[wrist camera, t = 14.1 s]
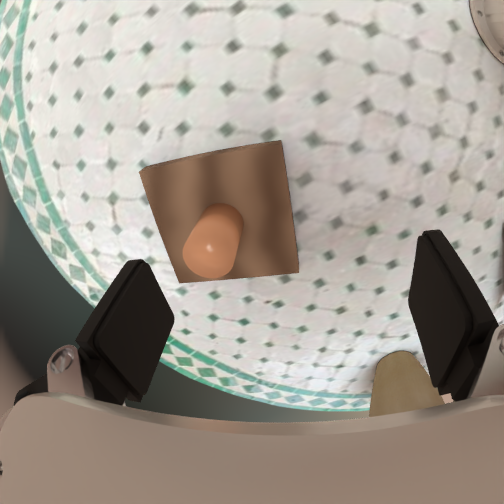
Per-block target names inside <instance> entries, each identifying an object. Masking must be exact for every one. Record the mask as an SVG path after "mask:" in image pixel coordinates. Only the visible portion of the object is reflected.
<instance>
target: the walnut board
mask: <svg viewBox="0 0 504 504" xmlns="http://www.w3.org/2000/svg"><path fill="white" fill-rule="evenodd" d="M139 174H140V177H141V180H142V183H143V186H144V189H145V192H146V195H147V198H148V201H149V204H150V207H151V210H152V212H153V215H154V218H155V221H156V224H157V226H158V229H159V232H160V235H161V237H162V240H163V243H164V245H165V248H166V251H167V253H168V256H169V258H170V261H171V263H172V266H173V268H174V271H175V273H176V276H177V278H178V281H179V283H189V282H202V281H215V280H227V279H238V278H249V277H260V276H271V275H281V274H292V273H299V263H298V255H297V247H296V239H295V231H294V223H293V216H292V208H291V201H290V194H289V187H288V180H287V174H286V167H285V161H284V155H283V148H282V142H281V140H279V141H272V142H265V143H258V144H252V145H246V146H240V147H234V148H228V149H223V150H217V151H212V152H207V153H202V154H197V155H193V156H188V157H184V158H179V159H175V160H170V161H166V162H162V163H158V164H154V165H150V166H146V167H145V168H143V169H142V170H141V171H140V172H139ZM215 203H225V204H228V205H231V206H233V207H234V208H236V209H237V210H238V211H239V213H240V214H241V216H242V218H243V224H244V225H243V230H242V234H241V238H240V242H239V245H238V249H237V253H236V257H235V261H234V264H233V267H232V269H231V270H230V271H229V273H227V274H226V275H224V276H222V277H219V278H205V277H202V276H199V275H197V274H195V273H194V272H193V271H191V270H190V269H189V268H188V266H187V265H186V263H185V261H184V259H183V247H184V245H185V243H186V241H187V239H188V237H189V236H190V234H191V232H192V230H193V228H194V227H195V225H196V223H197V221H198V220H199V218H200V216H201V214H202V213H203V211H204V210H205V209H206V208H207V207H208V206H210V205H212V204H215Z"/></svg>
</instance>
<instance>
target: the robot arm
mask: <svg viewBox="0 0 504 504" xmlns="http://www.w3.org/2000/svg"><path fill="white" fill-rule="evenodd" d="M470 8H471V13H472V17H473V20H474V23H475V25H476V28H477V30H478V32H479V34H480V36H481V38H482V39H483V41H484V43H485V44H486V45H487V47H488V48H489V50H490V51H491V52H492V53H493V54H494V56H495V57H496V58H498V59H499V60H500V61H501V62H502V63H504V0H470ZM408 304H409V308H410V311H411V314H412V317H413V320H414V323H415V326H416V329H417V332H418V336H419V339H420V342H421V345H422V349H423V352H424V356H425V359H426V363H427V367H428V370H429V374H430V378H431V382H432V385H433V387H434V388H438V392H439V396H440V395H444V394H448V393H451V396H452V399H453V400H454V401H453V402H452V403H447V404H442V405H438V406H433V407H429V408H424V409H418V410H413V411H407V412H401V413H395V414H388V415H382V416H375V417H367V418H358V419H349V420H337V421H322V422H297V423H261V422H236V421H221V420H210V419H200V418H192V417H184V416H176V415H169V414H163V413H157V412H150V411H145V410H140V409H135V408H130V407H126V405H125V402H124V401H125V398H127V399H128V400H131V401H136V402H141V399H142V397H143V395H145V394H146V393H147V391H148V388H149V385H150V383H151V380H152V377H153V374H154V372H155V370H156V367H157V364H158V362H159V359H160V357H161V354H162V352H163V349H164V347H165V344H166V342H167V339H168V337H169V334H170V332H171V329H172V327H173V324H174V314H173V312H172V310H171V308H170V306H169V304H168V302H167V300H166V298H165V296H164V294H163V292H162V290H161V288H160V286H159V284H158V282H157V280H156V278H155V276H154V274H153V272H152V270H151V267H150V265H149V264H148V263H146V262H145V261H144V260H142V259H138V260H130V261H127V262H126V264H125V265H124V266H123V268H122V269H121V271H120V272H119V274H118V275H117V276H116V278H115V279H114V281H113V282H112V284H111V285H110V287H109V288H108V290H107V291H106V292H105V294H104V295H103V297H102V298H101V300H100V302H99V303H98V305H97V306H96V308H95V309H94V311H93V312H92V314H91V315H90V317H89V319H88V320H87V322H86V324H85V325H84V327H83V328H82V330H81V331H80V333H79V335H78V337H77V338H76V340H75V341H76V342H77V344H78V345H79V346H80V348H79V349H78V350H77V348H75V347H74V346H72V345H66V346H63V347H61V348H60V349H58V350H56V351H55V352H54V353H53V355H52V356H51V358H50V359H49V362H48V365H47V374H45V375H44V376H42V377H41V378H39V379H37V380H36V381H34V382H32V383H31V384H29V385H27V386H26V387H24V388H23V389H21V390H20V391H19V392H18V393H17V395H16V397H15V402H14V407H11V408H10V409H9V410H8V411H7V412H6V413H5V414H4V415H3V416H2V418H0V504H504V324H502V325H500V326H499V325H498V323H497V321H496V319H495V317H494V315H493V313H492V311H491V309H490V307H489V305H488V304H487V302H486V300H485V298H484V296H483V295H482V293H481V291H480V289H479V288H478V286H477V284H476V283H475V281H474V279H473V278H472V276H471V274H470V273H469V271H468V270H467V268H466V267H465V265H464V264H463V262H462V261H461V259H460V258H459V256H458V255H457V253H456V252H455V250H454V249H453V247H452V246H451V244H450V243H449V241H448V240H447V238H446V237H445V236H444V234H443V233H442V231H440V230H429V231H424V232H423V234H422V236H419V237H418V240H417V248H416V255H415V262H414V269H413V275H412V281H411V286H410V292H409V297H408Z"/></svg>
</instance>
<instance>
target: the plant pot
mask: <svg viewBox="0 0 504 504" xmlns="http://www.w3.org/2000/svg"><path fill="white" fill-rule="evenodd" d="M442 404H445V403H444V401H443V399H442V397H441V395H440V396H439V392H438V389H437V388H434V387H433V385H432V382H431V378H430V376H429V375H428V373H427V372H426V371H425V369H424V368H423V367H422V365H421V364H420V363H419V362H418V361H417V359H416V358H415V357H414V356H413V355H412V354H411V353H410V352H407V351H398V352H394V353H391V354H389V355H387V356H385V357H384V358H382V359H381V360H380V361H379V363H378V365H377V369H376V373H375V378H374V384H373V389H372V396H371V403H370V414H369V417H375V416H382V415H388V414H395V413H401V412H407V411H413V410H418V409H424V408H429V407H433V406H438V405H442Z"/></svg>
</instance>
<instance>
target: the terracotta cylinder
mask: <svg viewBox="0 0 504 504" xmlns="http://www.w3.org/2000/svg"><path fill="white" fill-rule="evenodd" d="M243 225H244V224H243V218H242V216H241V214H240V213H239V211H238V210H237V209H236V208H234V207H233V206H231V205H228V204H225V203H215V204H212V205H210V206H208V207H207V208H206V209H205V210H204V211H203V213H202V214H201V216H200V218H199V220H198V221H197V223H196V225H195V227H194V228H193V230H192V232H191V234H190V236H189V237H188V239H187V241H186V243H185V245H184V247H183V259H184V261H185V263H186V265H187V266H188V268H189V269H190V270H191V271H193V272H194V273H195V274H197V275H199V276H202V277H205V278H219V277H222V276H224V275H226V274H227V273H229V271H230V270H231V269H232V267H233V264H234V261H235V257H236V253H237V249H238V245H239V242H240V238H241V234H242V230H243Z"/></svg>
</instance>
